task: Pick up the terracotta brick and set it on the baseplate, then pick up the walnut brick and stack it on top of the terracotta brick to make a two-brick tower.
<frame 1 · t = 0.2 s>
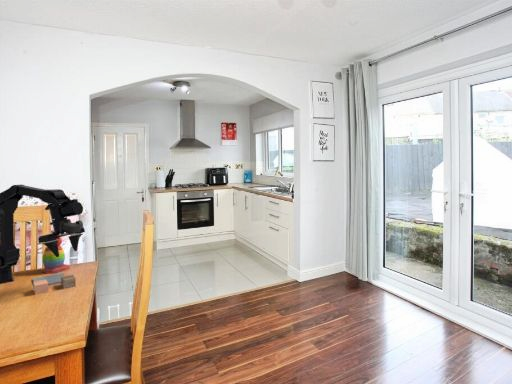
hand: (67, 253, 136), 15 cm above the table, tool pointing down, fingers open, 9 cm apart
walnut brick: (68, 286, 139), on the table
terracotta brick: (41, 291, 132), on the table
stacking bear: (54, 270, 159), on the table
baseplate: (50, 280, 144), on the table
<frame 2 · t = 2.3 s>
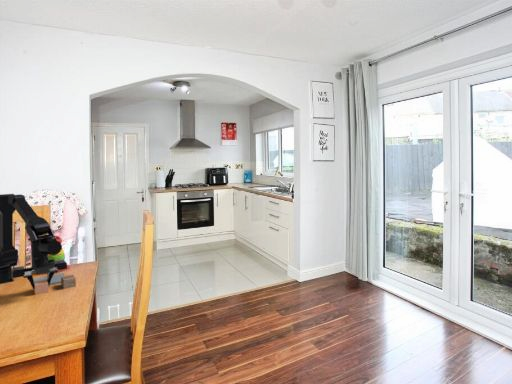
hand: (40, 288, 132), 1 cm above the table, tool pointing down, fingers closed on terracotta brick, 4 cm apart
terracotta brick: (41, 291, 132), on the table, touching gripper
everything else where it was.
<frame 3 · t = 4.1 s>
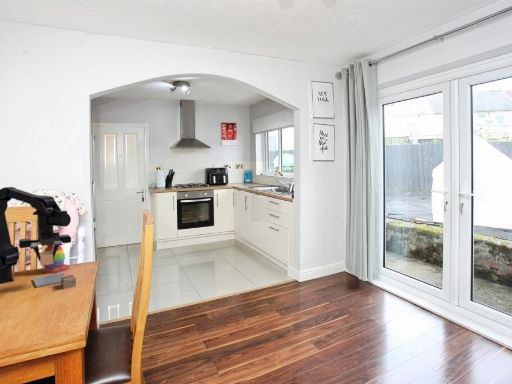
hand: (46, 260, 139), 11 cm above the table, tool pointing down, fingers closed on terracotta brick, 4 cm apart
terracotta brick: (46, 262, 139), point 10 cm above the table, touching gripper
everything else where it was.
when the fingers open (3 cm above the table, at t = 6.2 s): terracotta brick drops 1 cm, resting on baseplate.
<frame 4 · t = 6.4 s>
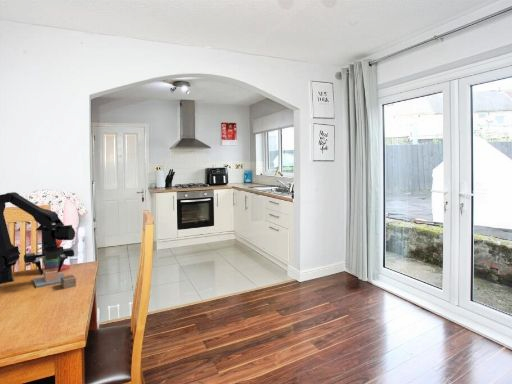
hand: (50, 273, 144), 3 cm above the table, tool pointing down, fingers open, 6 cm apart
terracotta brick: (50, 279, 144), point 1 cm above the table, touching baseplate
everything else where it was.
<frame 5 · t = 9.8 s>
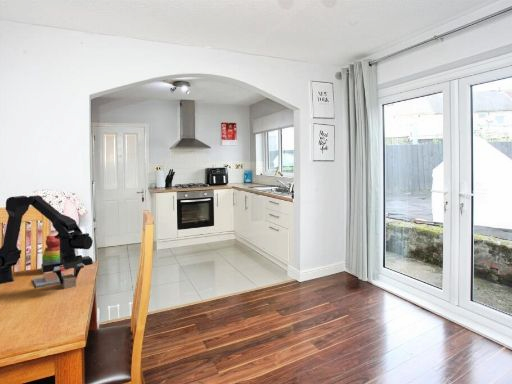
hand: (68, 282, 139), 1 cm above the table, tool pointing down, fingers closed on walnut brick, 5 cm apart
walnut brick: (68, 285, 139), on the table, touching gripper
everything else where it was.
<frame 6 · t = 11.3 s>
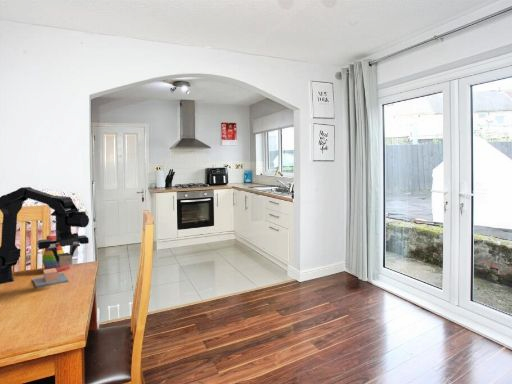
hand: (64, 261, 139), 11 cm above the table, tool pointing down, fingers closed on walnut brick, 5 cm apart
walnut brick: (64, 263, 139), point 10 cm above the table, touching gripper
everything else where it was.
when the fingers open (7 cm above the table, at t = 12.9 s): walnut brick drops 1 cm, resting on terracotta brick.
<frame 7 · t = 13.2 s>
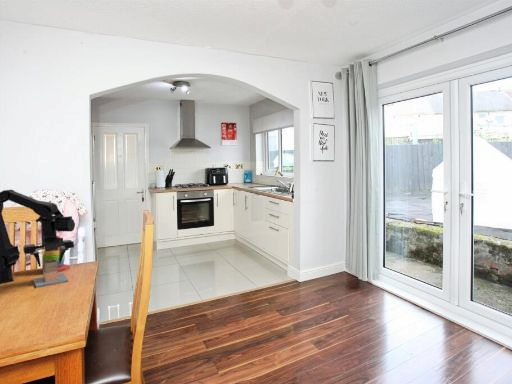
hand: (50, 265, 143), 7 cm above the table, tool pointing down, fingers open, 7 cm apart
walnut brick: (50, 270, 144), point 5 cm above the table, touching terracotta brick
terracotta brick: (50, 279, 144), point 1 cm above the table, touching baseplate, walnut brick
everything else where it was.
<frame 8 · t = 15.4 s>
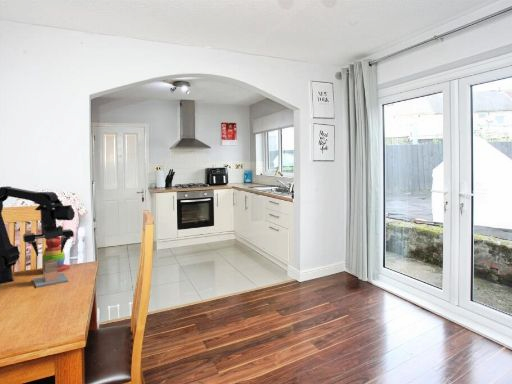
hand: (49, 254, 143), 12 cm above the table, tool pointing down, fingers open, 9 cm apart
nothing on the table moved.
at the end: terracotta brick 0.0 cm off-centre on the baseplate, point 0.8 cm above the baseplate's base; walnut brick 0.0 cm off-centre on the terracotta brick, point 4.0 cm above the terracotta brick's base; walnut brick tilted 0° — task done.
